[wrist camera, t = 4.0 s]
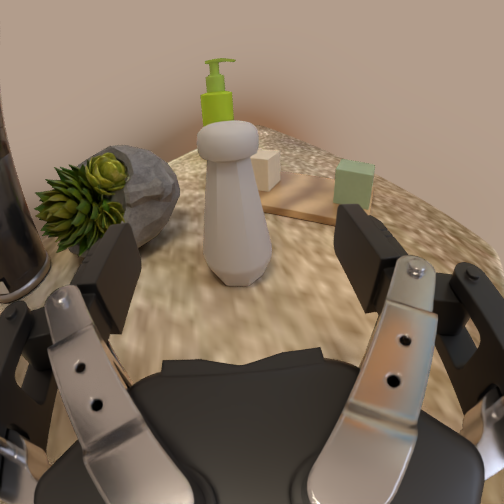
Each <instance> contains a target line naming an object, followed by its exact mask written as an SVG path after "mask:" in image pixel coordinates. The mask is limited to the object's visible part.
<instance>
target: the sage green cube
mask: <svg viewBox="0 0 504 504" xmlns="http://www.w3.org/2000/svg"><path fill="white" fill-rule="evenodd" d="M374 170H375V165H373V164H369V163H363V162H357V161H352V160H346V159H341V161H340V163H339V164H338V166H337V168H336V173H335V186H334V197H333V203H336V204H359V205H360V206H361V207H362V208H363V209H366V210H368V209H369V204H370V198H371V192H372V185H373V178H374Z"/></svg>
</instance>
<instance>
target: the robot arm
mask: <svg viewBox="0 0 504 504" xmlns="http://www.w3.org/2000/svg"><path fill="white" fill-rule="evenodd" d="M334 250H335V253H336V256H337V258H338V260H339V261H340V263H341V265H342V267H343V269H344V271H345V273H346V275H347V277H348V279H349V281H350V283H351V285H352V287H353V289H354V291H355V293H356V295H357V297H358V299H359V301H360V304H361V306H362V308H363V310H364V312H365V314H366V313H371V312H377V313H378V315H379V316H378V319H377V321H376V324H375V327H374V330H373V332H372V335H371V338H370V340H369V343H368V346H367V348H366V351H365V353H364V356H363V358H362V360H361V363H360V365H359V367H356V366H354V365H352V364H349V363H347V362H343V361H339V360H335V359H329V358H323V354H322V351H321V347H318V348H311V349H304V350H297V351H289V352H282V353H279V354H276V355H273V356H270V357H267V358H264V359H261V360H258V361H255V362H252V363H249V364H245V365H233V364H226V363H220V362H213V361H207V360H202V359H195V360H163V362H162V370H161V372H159V373H155V374H152V375H150V376H147V377H145V378H143V379H141V380H140V381H138V382H136V383H135V384H133V382H132V380H131V379H130V377H129V376H128V374H127V372H126V371H125V369H124V367H123V366H122V364H121V362H120V360H119V358H118V357H117V355H116V353H115V351H114V349H113V348H112V346H111V344H110V342H109V341H108V339H109V335H110V334H122V331H123V327H124V324H125V320H126V317H127V313H128V310H129V307H130V303H131V300H132V297H133V294H134V290H135V287H136V284H137V281H138V278H139V275H140V272H141V257H140V253H139V250H138V247H137V244H136V241H135V237H134V234H133V231H132V227H131V225H130V224H129V223H122V224H114V225H110V226H109V228H108V229H107V231H106V232H105V234H104V236H103V237H102V238H101V239H99V240H98V241H97V242H96V243H95V244H94V245H93V246H91V248H90V250H89V251H88V253H87V255H86V257H85V258H84V260H83V261H82V264H81V265H80V267H79V268H78V270H77V272H76V274H75V276H74V277H73V279H72V281H71V283H70V285H66V286H63V287H60V288H58V289H57V290H55V291H54V292H53V293H52V294H51V295H50V296H49V297H48V298H47V300H46V302H45V307H42V308H39V309H36V310H33V311H30V309H29V308H28V306H27V304H26V303H25V302H24V301H16V302H13V303H12V304H10V305H9V306H7V307H6V308H5V309H4V311H3V312H2V313H1V315H0V502H1V503H4V504H481V497H482V492H483V487H484V481H485V480H487V479H488V478H490V477H491V476H493V475H494V474H496V473H497V472H499V471H500V470H502V469H503V468H504V299H503V297H502V296H501V294H500V293H499V292H498V290H497V289H496V288H495V286H494V285H493V284H492V282H491V281H490V280H489V278H488V277H487V276H486V275H485V273H484V272H483V271H482V270H481V269H480V268H478V267H477V266H475V265H473V264H470V263H466V262H462V263H458V264H457V265H456V267H455V269H454V271H453V274H444V273H436V271H435V269H434V267H433V266H432V265H431V264H430V263H429V262H428V261H426V260H425V259H423V258H421V257H418V256H413V255H408V254H407V252H406V251H405V250H404V249H403V247H402V246H401V245H400V244H399V242H398V241H397V240H396V239H395V238H394V237H393V235H392V234H391V233H390V232H389V231H387V228H386V227H385V226H384V224H383V223H382V222H381V221H379V220H378V219H376V218H375V217H373V216H371V215H368V214H367V213H366V212H365V211H364V210H363V208H362V207H361V206H360V205H359V204H340V205H339V206H338V208H337V215H336V224H335V233H334ZM50 264H51V261H50V257H49V255H48V253H47V251H46V250H45V248H44V246H43V244H42V241H41V239H40V237H39V235H38V232H37V229H36V227H35V224H34V222H33V219H32V217H31V214H30V211H29V209H28V206H27V203H26V200H25V197H24V194H23V191H22V188H21V185H20V182H19V179H18V175H17V172H16V169H15V165H14V161H13V158H12V154H11V150H10V146H9V142H8V137H7V132H6V128H5V122H4V117H3V110H2V99H1V89H0V302H1V303H8V302H12V301H15V300H17V299H19V298H21V297H23V296H25V295H26V294H28V293H29V292H30V291H31V290H33V289H34V288H35V287H36V286H37V285H38V284H39V283H40V282H41V281H42V280H43V278H44V277H45V275H46V274H47V272H48V270H49V268H50ZM469 318H471V319H472V321H473V323H474V324H475V326H476V328H477V329H478V331H479V334H480V345H479V347H478V349H477V348H476V346H475V344H474V342H473V340H472V338H471V336H470V335H469V333H468V331H467V329H466V327H465V325H466V323H467V322H468V320H469ZM434 345H435V347H436V349H437V351H438V353H439V355H440V357H441V360H442V362H443V364H444V366H445V369H446V371H447V373H448V376H449V378H450V380H451V383H452V385H453V388H454V390H455V393H456V395H457V398H458V400H459V403H460V406H461V408H462V411H463V414H464V419H463V424H462V427H463V429H462V430H461V431H460V433H457V432H455V431H454V430H452V429H451V428H449V427H448V426H446V425H444V424H443V423H441V422H440V421H438V420H437V419H435V418H434V417H432V416H430V415H429V414H427V413H426V412H424V411H423V410H421V407H422V403H423V399H424V395H425V391H426V386H427V382H428V377H429V373H430V368H431V362H432V357H433V351H434ZM21 354H22V355H23V356H24V358H25V359H26V360H27V361H28V362H29V365H28V369H27V372H26V375H25V378H24V381H23V385H22V388H20V387H19V386H18V385H17V383H16V380H15V370H16V367H17V364H18V362H19V359H20V356H21ZM57 389H59V392H60V395H61V398H62V400H63V403H64V406H65V409H66V411H67V414H68V416H69V419H70V421H71V424H72V426H73V428H74V431H75V433H76V435H77V438H78V440H77V441H76V442H75V443H74V444H73V445H72V446H71V447H70V448H69V449H68V450H67V451H66V452H65V453H64V454H63V455H62V456H61V457H60V458H59V459H58V460H57V461H56V462H55V463H54V464H53V465H50V464H49V462H48V458H47V455H46V448H47V441H48V434H49V428H50V422H51V417H52V412H53V407H54V402H55V398H56V393H57Z"/></svg>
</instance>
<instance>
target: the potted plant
mask: <svg viewBox="0 0 504 504" xmlns="http://www.w3.org/2000/svg"><path fill="white" fill-rule="evenodd" d="M69 166H70V167H71V168H72V170H69V169H66V168H63V167H60V168H61V169H62V170H63V171H62V170H60V169H57V168H55V167H54V168H55V169H56V171H57V173H58V175H59V177H60V179H61V180H48V179H46V181H48V182H47V183H48V184H50V185H51V186H52V188H54V189H53V190H50V191H44V192H36V194H37V195H38V196H39V197H40V198H41V199H40V201H42V202H43V203H42V204H41V205H40V206H38V207H36V208H35V210H38V211H40V213H39V214H38V215H36V217H38V218H40V219H39V220H44V221H47V223H46V224H45V225H44V226H43V228H42V229H41V231H45V233H44V234H43V235H42V236H45V235H49V236H48V237H58V236H59V237H58V239H57V240H56V241H55V242H57V241H59V240H61V241H60V243H59V244H58V245H59V248H58V250H57V252H56V253H58V252H61V251H63V250H65V249H67V248H68V249H69V250H70V252H72V253H74V254H77V255H78V257H79V256H82V257H84V258H85V257H86V255H87V253H88V251H89V250H90V248H91V246H93V245H94V244H95V243H96V242H97V241H98V240H99V239H101V238H102V237H103V236H104V234H105V232H106V231H107V229H108V228H109V226H110V225H114V224H122V223H129V224H130V225H131V227H132V231H133V234H134V237H135V241H136V244H137V247H138V248H139V247H141V246H142V245H144V244H145V243H147V242H148V241H150V240H151V239H153V238H155V237H156V236H158V234H159V233H160V232H161V230H162V229H163V228H164V226H165V225H166V223H167V222H168V221H169V219H170V216H171V214H172V212H173V209H174V207H175V205H176V203H177V200H178V198H179V196H180V188H179V184H178V180H177V176H176V174H175V173H174V172H173V170H172V169H171V167H170V166H169V165H168V163H167V162H165V161H164V160H162V159H161V158H160V157H158V156H157V155H155V154H154V153H152V152H151V151H149V150H145V149H140V148H136V147H132V146H127V145H117V146H109V147H107V148H106V149H104V150H102V151H100V152H99V153H97V154H95V155H93V156H92V157H90V158H89V159H87V160H85V161H84V162H82V163H81V164H79V165H78V166H77V167H76V166H72V165H69ZM58 245H57V246H58Z"/></svg>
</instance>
